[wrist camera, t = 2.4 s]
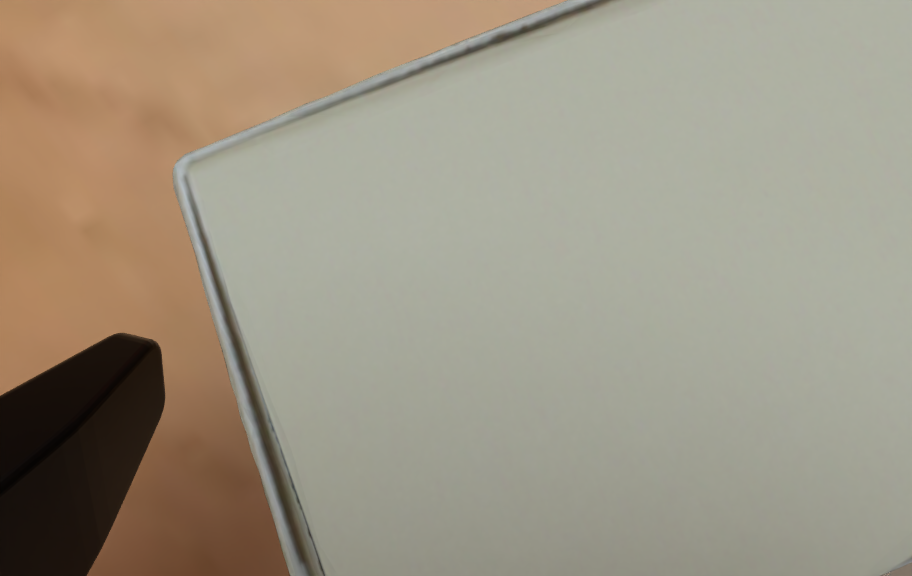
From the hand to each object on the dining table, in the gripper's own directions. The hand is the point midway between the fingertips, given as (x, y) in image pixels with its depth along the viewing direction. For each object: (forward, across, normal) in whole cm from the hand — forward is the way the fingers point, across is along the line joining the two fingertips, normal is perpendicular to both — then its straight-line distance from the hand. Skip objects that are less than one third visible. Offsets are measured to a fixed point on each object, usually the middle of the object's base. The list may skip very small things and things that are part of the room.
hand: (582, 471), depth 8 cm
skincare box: (+8, 0, +5) cm, 9 cm away
